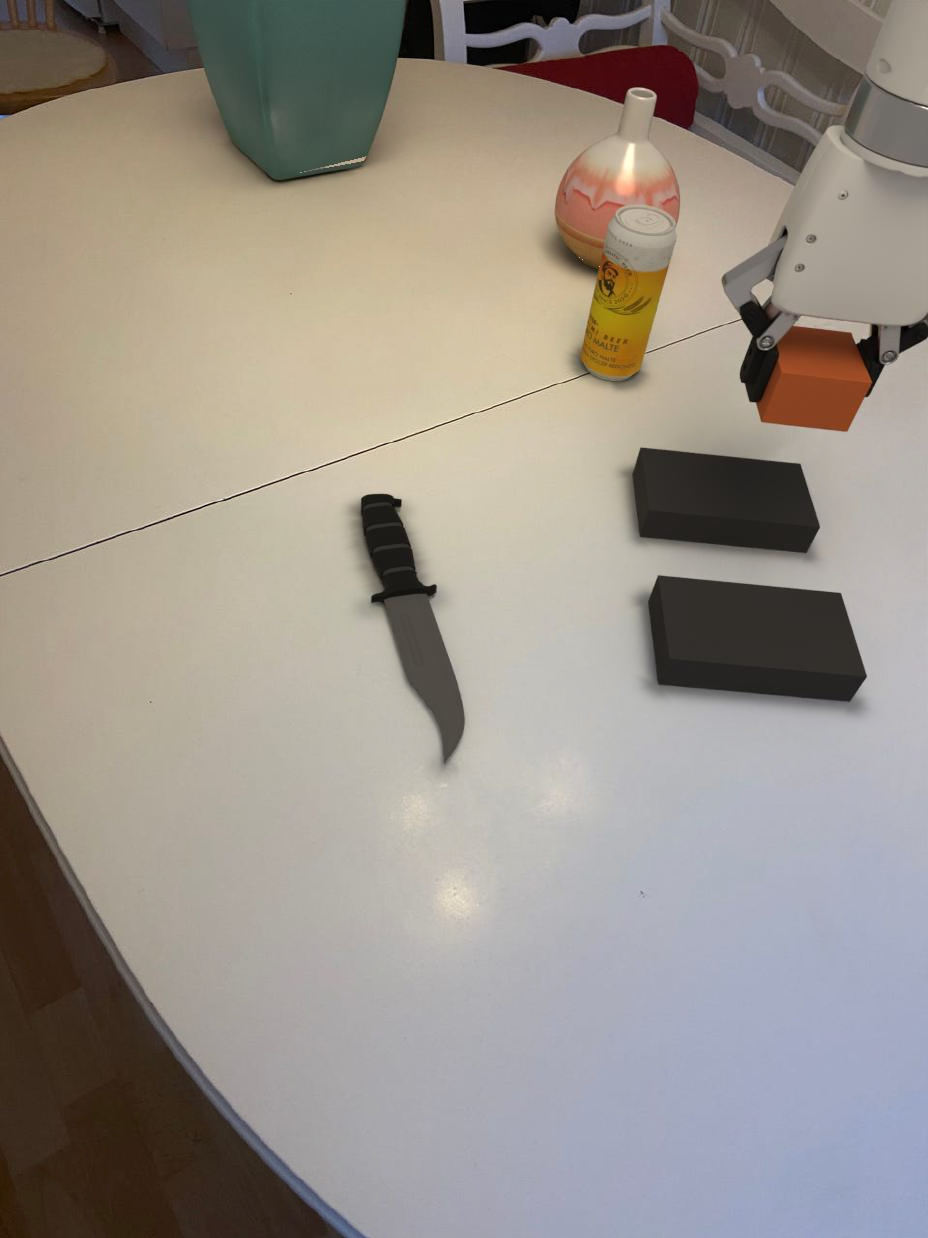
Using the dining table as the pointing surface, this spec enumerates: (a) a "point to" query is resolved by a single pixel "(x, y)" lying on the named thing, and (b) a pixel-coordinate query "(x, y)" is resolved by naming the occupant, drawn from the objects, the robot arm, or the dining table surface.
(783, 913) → the dining table surface
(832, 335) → the link piece
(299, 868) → the dining table surface
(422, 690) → the knife
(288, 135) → the flower pot
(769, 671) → the pads
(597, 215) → the vase
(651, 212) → the beer can
